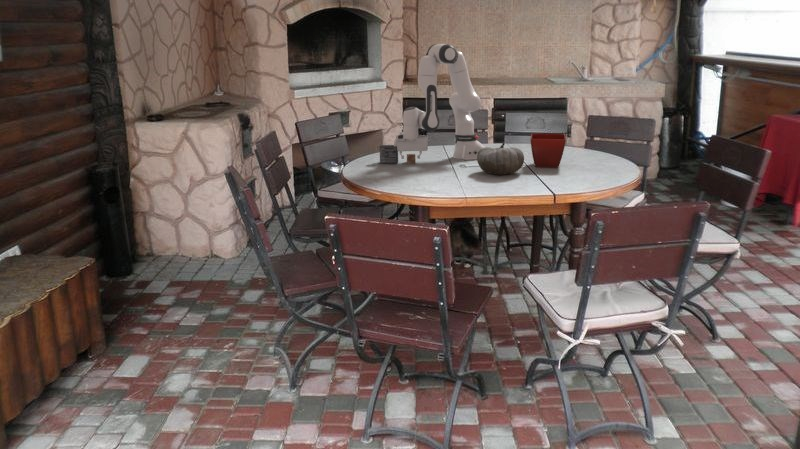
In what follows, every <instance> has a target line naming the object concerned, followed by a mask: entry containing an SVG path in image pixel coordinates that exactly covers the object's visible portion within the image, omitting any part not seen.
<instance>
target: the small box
mask: <svg viewBox="0 0 800 449" xmlns="http://www.w3.org/2000/svg"><path fill="white" fill-rule="evenodd" d="M398 163H399V151H397V146H394V144H381V145H379V164H380V165H381V164H382V165H383V164H384V165H387V164H388V165H393V164H394V165H395V164H398Z"/></svg>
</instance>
